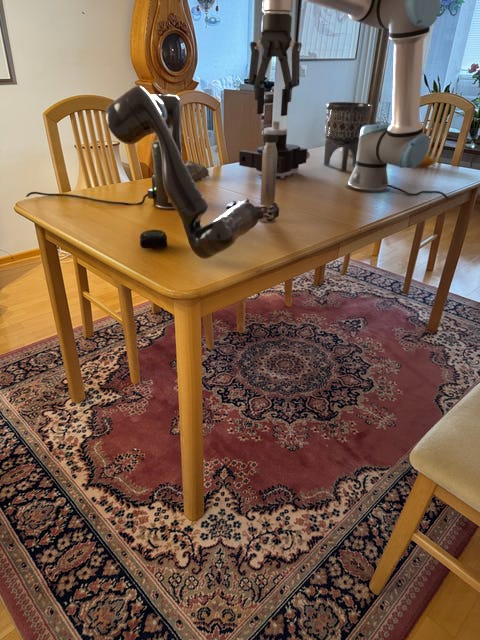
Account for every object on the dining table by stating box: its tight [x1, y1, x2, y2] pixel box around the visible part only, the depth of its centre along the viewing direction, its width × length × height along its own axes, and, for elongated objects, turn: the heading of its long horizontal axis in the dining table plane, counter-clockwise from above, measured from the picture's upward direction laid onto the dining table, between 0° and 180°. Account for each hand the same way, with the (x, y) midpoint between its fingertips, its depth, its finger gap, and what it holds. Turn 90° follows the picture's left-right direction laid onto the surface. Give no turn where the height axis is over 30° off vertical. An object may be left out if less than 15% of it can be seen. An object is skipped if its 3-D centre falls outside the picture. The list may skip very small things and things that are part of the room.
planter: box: [323, 101, 374, 172], centre depth 204 cm, size 20×20×26 cm
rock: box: [185, 160, 210, 182], centre depth 182 cm, size 13×9×6 cm, turn 131°
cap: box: [262, 132, 278, 143], centre depth 128 cm, size 4×4×2 cm
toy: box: [417, 154, 435, 169], centre depth 214 cm, size 11×6×15 cm
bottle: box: [259, 142, 277, 223], centre depth 134 cm, size 4×4×25 cm
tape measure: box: [139, 229, 168, 250], centre depth 117 cm, size 7×7×4 cm
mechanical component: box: [238, 120, 311, 179], centre depth 191 cm, size 22×21×30 cm
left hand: (261, 204), depth 133 cm, fingers open, 8 cm apart
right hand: (272, 114), depth 125 cm, fingers open, 6 cm apart
